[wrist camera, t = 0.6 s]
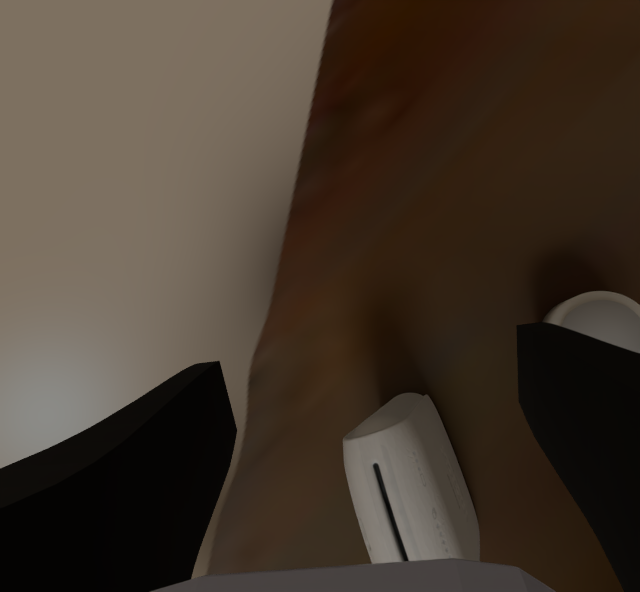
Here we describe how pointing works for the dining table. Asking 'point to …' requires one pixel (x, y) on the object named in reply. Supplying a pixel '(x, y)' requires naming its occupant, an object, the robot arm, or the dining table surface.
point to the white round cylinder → (601, 318)
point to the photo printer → (409, 485)
